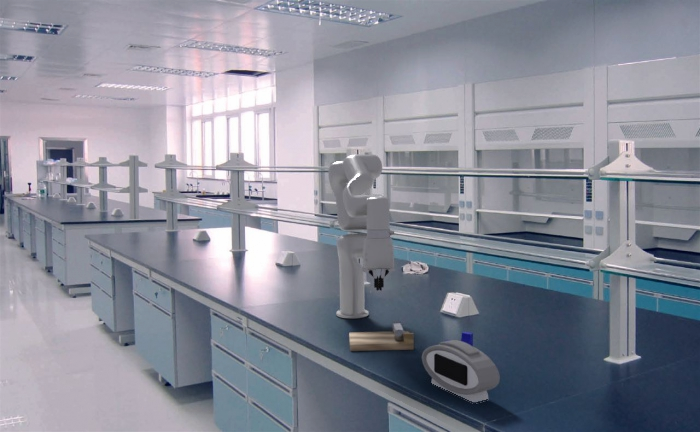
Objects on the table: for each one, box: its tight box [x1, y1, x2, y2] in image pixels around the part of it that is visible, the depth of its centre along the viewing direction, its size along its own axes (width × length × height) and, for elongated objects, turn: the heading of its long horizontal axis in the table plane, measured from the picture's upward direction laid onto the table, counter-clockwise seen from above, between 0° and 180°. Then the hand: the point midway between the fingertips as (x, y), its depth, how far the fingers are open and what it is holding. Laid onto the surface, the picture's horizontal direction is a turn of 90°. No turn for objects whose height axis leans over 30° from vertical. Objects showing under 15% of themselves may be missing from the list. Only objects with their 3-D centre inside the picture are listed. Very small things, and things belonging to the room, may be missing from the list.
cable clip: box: [444, 331, 474, 347], centre depth 187 cm, size 12×4×6 cm, turn 140°
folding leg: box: [392, 320, 406, 341], centre depth 202 cm, size 13×3×3 cm, turn 1°
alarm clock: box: [421, 339, 501, 402], centre depth 157 cm, size 23×6×13 cm, turn 31°
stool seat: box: [348, 330, 415, 352], centre depth 201 cm, size 14×20×5 cm
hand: (378, 289), depth 204 cm, fingers closed
